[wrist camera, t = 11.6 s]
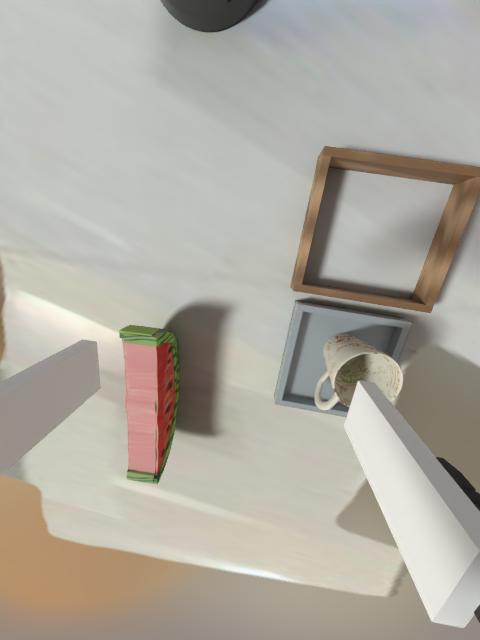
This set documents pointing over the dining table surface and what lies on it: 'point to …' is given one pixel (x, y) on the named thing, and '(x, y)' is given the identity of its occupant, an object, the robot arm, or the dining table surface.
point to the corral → (446, 237)
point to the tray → (308, 343)
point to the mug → (356, 370)
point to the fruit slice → (150, 399)
